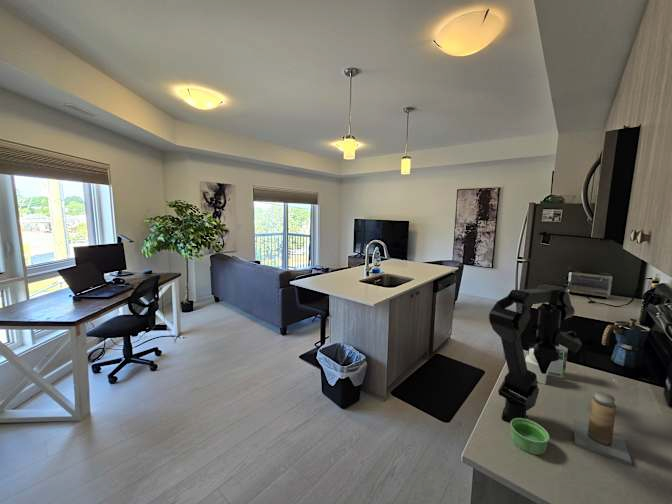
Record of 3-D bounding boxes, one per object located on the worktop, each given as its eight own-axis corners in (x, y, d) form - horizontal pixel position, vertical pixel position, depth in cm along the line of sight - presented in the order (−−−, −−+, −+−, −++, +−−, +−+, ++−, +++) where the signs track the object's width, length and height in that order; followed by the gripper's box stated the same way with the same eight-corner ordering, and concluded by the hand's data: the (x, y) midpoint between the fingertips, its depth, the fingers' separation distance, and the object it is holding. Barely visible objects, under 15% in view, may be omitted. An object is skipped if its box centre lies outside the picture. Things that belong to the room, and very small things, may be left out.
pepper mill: (607, 448, 76) (613, 404, 74) (584, 435, 80) (589, 393, 79) (614, 441, 78) (620, 398, 77) (592, 429, 83) (597, 388, 81)
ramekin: (540, 463, 72) (542, 447, 72) (503, 440, 80) (504, 426, 79) (552, 446, 78) (554, 432, 77) (516, 426, 85) (518, 413, 84)
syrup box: (546, 375, 112) (550, 340, 110) (543, 368, 118) (547, 335, 116) (564, 379, 110) (568, 344, 108) (560, 371, 115) (565, 338, 113)
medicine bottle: (525, 370, 116) (528, 342, 114) (546, 376, 111) (549, 348, 110) (523, 377, 110) (526, 349, 109) (545, 384, 106) (549, 355, 104)
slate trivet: (631, 466, 72) (631, 462, 72) (575, 444, 78) (575, 441, 78) (622, 439, 80) (623, 436, 80) (572, 421, 87) (573, 418, 87)
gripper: (583, 339, 80) (577, 390, 82) (578, 320, 94) (573, 363, 96) (536, 329, 86) (530, 376, 88) (538, 313, 101) (533, 353, 103)
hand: (543, 367), depth 94 cm, fingers open, 9 cm apart
